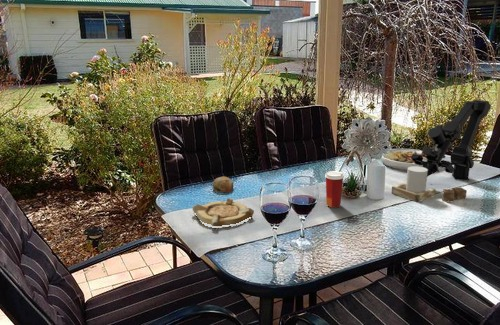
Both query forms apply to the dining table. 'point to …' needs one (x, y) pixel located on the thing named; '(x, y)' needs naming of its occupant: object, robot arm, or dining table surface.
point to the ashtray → (222, 212)
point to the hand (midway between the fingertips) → (422, 178)
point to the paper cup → (334, 188)
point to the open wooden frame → (402, 192)
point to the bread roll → (222, 184)
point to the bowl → (401, 158)
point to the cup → (416, 179)
